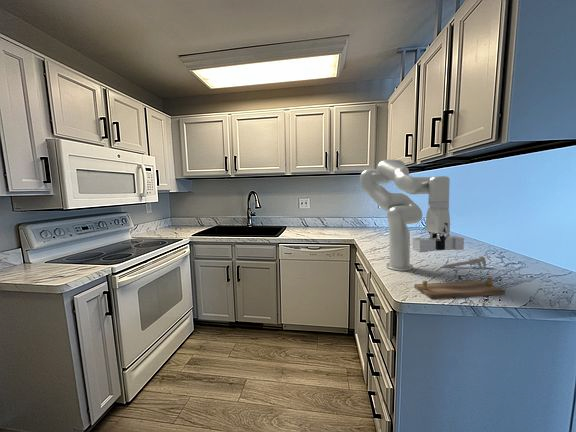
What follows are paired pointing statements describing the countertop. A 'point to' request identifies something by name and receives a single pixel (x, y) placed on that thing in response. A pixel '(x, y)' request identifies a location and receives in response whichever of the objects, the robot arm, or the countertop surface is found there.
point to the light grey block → (431, 244)
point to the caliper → (468, 262)
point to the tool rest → (458, 289)
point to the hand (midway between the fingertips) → (437, 248)
